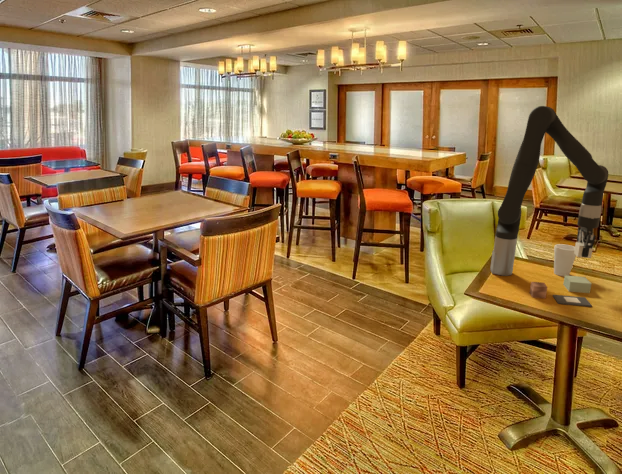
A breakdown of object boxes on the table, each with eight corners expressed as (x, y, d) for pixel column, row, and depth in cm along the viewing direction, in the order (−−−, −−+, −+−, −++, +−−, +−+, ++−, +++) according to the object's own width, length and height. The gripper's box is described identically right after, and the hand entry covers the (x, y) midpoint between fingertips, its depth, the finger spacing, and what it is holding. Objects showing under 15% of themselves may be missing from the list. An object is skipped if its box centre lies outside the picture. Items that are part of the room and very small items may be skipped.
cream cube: (577, 257, 191) (579, 245, 190) (573, 253, 196) (575, 242, 195) (591, 258, 190) (593, 246, 189) (586, 254, 195) (588, 242, 193)
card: (558, 303, 182) (558, 302, 182) (552, 295, 189) (552, 294, 189) (591, 306, 179) (592, 305, 179) (584, 298, 187) (585, 297, 187)
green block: (568, 291, 194) (570, 281, 193) (563, 284, 202) (564, 275, 201) (589, 293, 193) (591, 283, 191) (583, 286, 200) (585, 276, 199)
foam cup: (577, 277, 210) (582, 250, 206) (556, 277, 210) (561, 250, 206) (566, 270, 219) (570, 244, 215) (546, 270, 219) (550, 243, 215)
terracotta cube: (532, 297, 188) (534, 286, 187) (529, 292, 193) (531, 281, 191) (545, 298, 187) (547, 287, 186) (542, 294, 192) (544, 282, 190)
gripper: (574, 210, 196) (567, 249, 200) (585, 218, 182) (578, 259, 187) (593, 211, 194) (586, 250, 199) (606, 219, 181) (598, 261, 185)
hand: (582, 254), depth 193 cm, fingers closed on cream cube, 5 cm apart
